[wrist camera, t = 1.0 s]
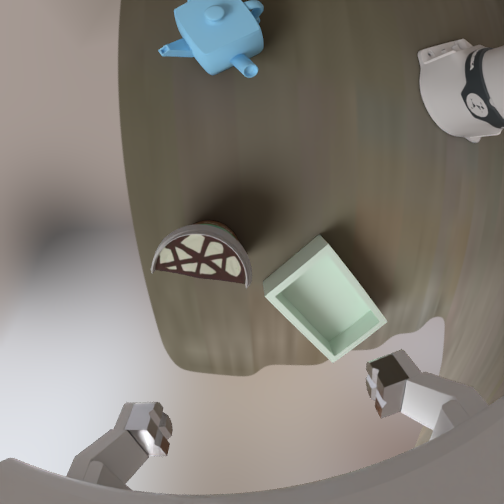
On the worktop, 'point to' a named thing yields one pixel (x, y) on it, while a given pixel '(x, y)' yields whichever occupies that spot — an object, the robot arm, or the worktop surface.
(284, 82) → the worktop surface
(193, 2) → the teapot
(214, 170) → the worktop surface
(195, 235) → the food container
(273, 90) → the worktop surface
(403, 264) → the worktop surface
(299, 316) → the crate
